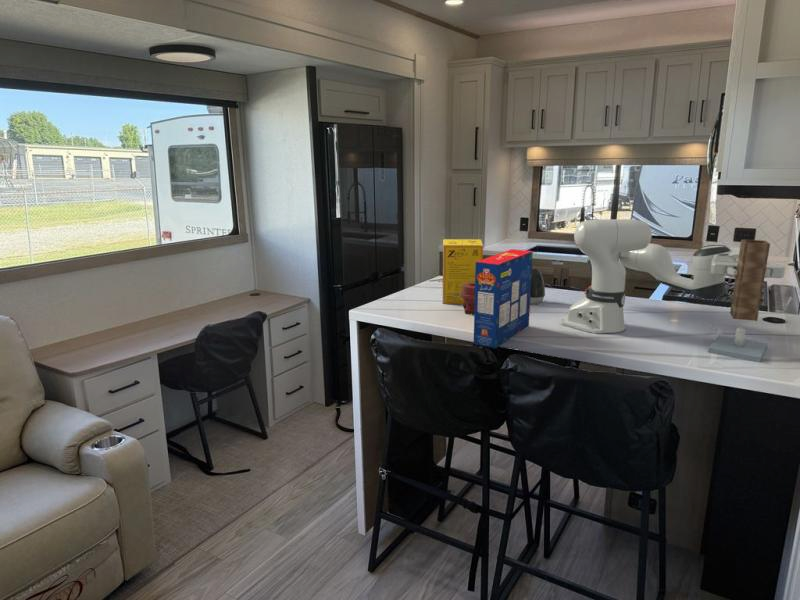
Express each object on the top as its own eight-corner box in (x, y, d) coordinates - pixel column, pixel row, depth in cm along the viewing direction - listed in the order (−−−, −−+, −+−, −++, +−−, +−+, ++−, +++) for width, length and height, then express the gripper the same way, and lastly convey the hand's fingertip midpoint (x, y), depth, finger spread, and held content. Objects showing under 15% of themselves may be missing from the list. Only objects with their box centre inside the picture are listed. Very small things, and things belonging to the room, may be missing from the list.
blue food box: (508, 322, 208) (511, 249, 201) (528, 326, 203) (532, 251, 196) (473, 343, 186) (475, 261, 179) (495, 348, 181) (498, 264, 174)
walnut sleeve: (733, 318, 174) (745, 242, 167) (729, 313, 179) (741, 239, 173) (757, 320, 171) (770, 243, 165) (752, 315, 177) (765, 240, 171)
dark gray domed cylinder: (543, 299, 239) (545, 265, 235) (545, 306, 229) (547, 270, 225) (519, 299, 241) (521, 264, 237) (520, 305, 231) (521, 269, 227)
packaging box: (443, 294, 250) (443, 239, 244) (479, 294, 249) (480, 239, 242) (442, 303, 235) (443, 245, 228) (481, 304, 233) (482, 245, 227)
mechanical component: (458, 315, 218) (461, 308, 227) (484, 316, 216) (485, 309, 225) (459, 285, 214) (461, 279, 224) (485, 285, 212) (486, 280, 222)
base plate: (707, 352, 176) (711, 328, 174) (718, 339, 188) (721, 317, 186) (759, 362, 167) (763, 337, 165) (767, 347, 179) (771, 324, 177)
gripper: (777, 277, 180) (788, 286, 168) (706, 272, 188) (712, 281, 175) (780, 257, 179) (792, 266, 166) (709, 254, 186) (715, 262, 173)
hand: (750, 274), depth 171 cm, fingers closed on walnut sleeve, 6 cm apart
